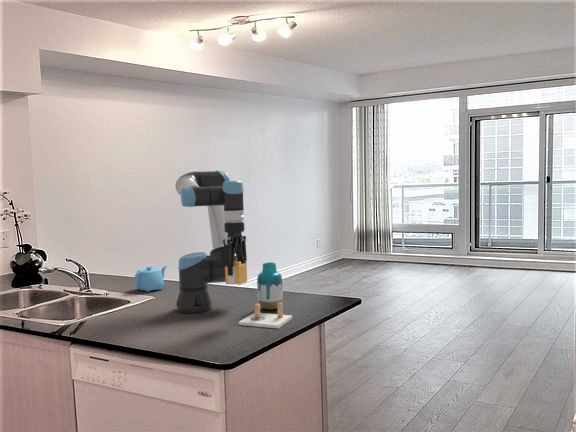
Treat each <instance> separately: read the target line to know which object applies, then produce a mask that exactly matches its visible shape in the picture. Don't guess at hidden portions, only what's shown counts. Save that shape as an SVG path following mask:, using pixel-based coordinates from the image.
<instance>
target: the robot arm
mask: <svg viewBox="0 0 576 432" xmlns="http://www.w3.org/2000/svg"><path fill="white" fill-rule="evenodd" d="M243 187H244V185H243V181H242V180H231V179H230V177H229V175H228V173H227V172H226V171H224V170H223V171H222V170H215V171H208V170H207V171H190V172H187V173H184V174H182V175H181V176H180V177H178V178H177V180H176V182H175V190H176V192H177V194H179V196H180V202H181V203H180V204H181V206H182V207H186V208H188V207H189V208H193V207H207V213H208V219H209V220H208V221H209V229H210V235H211V237H210V238H211V244H212V249H211V250H210V252H209V255H208V254H207V253H206V252H204V251H199V252H198V251H197V252H191V253H188V254H185V255H182V256H181V257H179V259H178V268H177V269H178V278H179V279H178V283H179V285H178V286H179V294H178V296H177V300H176V303H175V310H176V312H178V313H182V314H197V313H205V312H208V311H211V310H213V301H212V298H211V295H210V292H209V289H208V286H209V285H208V284H214V283H216V284H217V283H226V279H225V267H228V284H227V285H237V284H236V280H235V267H233V266H234V261H241V263H242V264H247V261H248V258H247V246H246V245H247V243H246V241H247V236H246V235H243V234H242V233H244V232H245V222H244V220H245V213H244V208H245V207H244V188H243Z"/></svg>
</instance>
